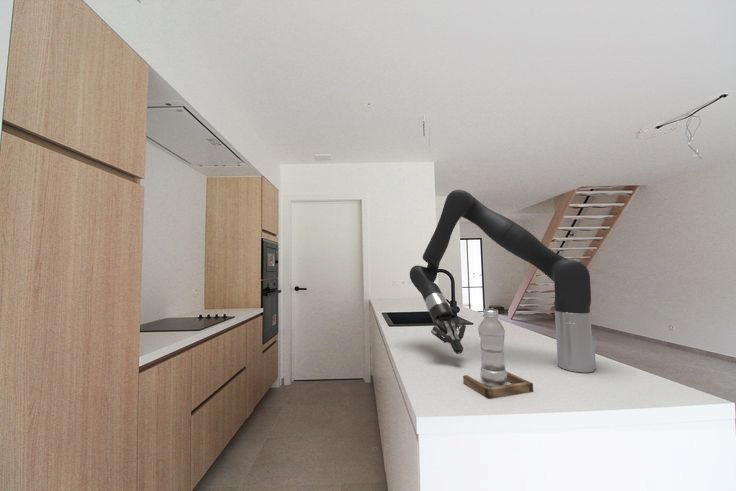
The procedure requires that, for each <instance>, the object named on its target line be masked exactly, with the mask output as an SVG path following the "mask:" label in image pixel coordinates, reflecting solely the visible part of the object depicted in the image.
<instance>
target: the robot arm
mask: <svg viewBox="0 0 736 491" xmlns="http://www.w3.org/2000/svg"><path fill="white" fill-rule="evenodd" d="M461 218H464V220H465V219H466V220H468V221H469V222H470V223H471V224H474V225H476V226H477V227H478V228H479V229H481V231H482V232H483V233H484V234H485V235H487V237H488V238H490V239H491V240H492V241H493V242H494V243H496V245H499V246H500V247H502V248H503V249H505V250H506V251H507V252H509V253H511V254H512V255H514V256H516V257H518V258H519V259H521V260H523V261H525V262H527V263H529V264H531V265H533V266H534V268H535V267H536V268H537V269H538V270H540V272H542V273H543V274H545V275H546V276H547V278H549V279H551V281H552V282H554V319H555V320H554V321H555V323H554V324H555V336H556V354H557V355H556V356H557V357H556V358H557V359H556V360H557V366H558V367H559V368H561V369H563V370H567V371H571V372H577V373H593V372H594V371H595V370H596V369H597V360H596V348H595V337H594V336H592V335H593V330H592V320H591V304H592V291H591V290H592V288H591V275H590V271H589V269H588V267H587V266H586V265H585V264H584V263H582V262H581V261H579V260H573V259H568V258H566V257H564V256H562V255H561V254H559V253H557V252H556V251H553V250H552V249H550V248H549V247H547V245H545V244H544V243H543V242H541V241H540V240H539V238H537V237H536V236H535V235H534V234H533V233H531V232H530V231H529V230H527V229H526V228H525V227H523V226H522V225H520V224H518V223H516V222H515V221H513V220H512V219H509V218H508V217H506V216H504V215H502V214H501V213H498V212H496V211H494V210H491V209H490V208H488V207H487V206H486V205H484V204H483V203H482V202H480V201H479V200H478V199H477V198H476V197H474V196H473V195H472V194H471V193H470V192H468V191H466V190H463V189H454V190H452V191H451V192H449V194H448V195H447V196H446V198H445V202H444V204H443V208H442V211H441V214H440V217H439V220H438V222H437V224H436V228H435V229H434V233H433V234H432V236H431V238H430V240H429V242H428V244H427V245H426V246H427V247H426V248H425V250H424V253H423V254H422V260H423V261H424V262H426V263H427V266H422V265H413V266H412V267H411V268H410V271H409V279H410V281H411V283H412V285H413V286H414V288H416V289H417V291H418V292H419V293H420V294H421V296H422V298H423V301H424V302H425V307H426V309H427V311H428V313H429V316H430V317H431V320H432V322H433V323H434V325H433V327H432V329H431V331H430V333H431V334H432V335H434V336H435V337H436V338H437V339H438V340H440V341H441V342H442V343H444V344H447V343H448V344H450V347H451V348H452V350H453V352H454V353H455V354H456V355H461V354H462V353H463V350H464V347H463V345H462V343H461V341H462V339H463V338H464V337H465V336H464V335H465V331H466V327H467V325H466V324H464V323H463V324H461V323H459V322H458V320H456V318H455V315H454V312H453V310H452V308H451V306H450V305H449V303H448V300H447V299H446V297H445V296H444V295H443V293H442V291H441V289H440V287H439V285H438V284H437V283H435V282H436V280H437V277H438V273H439V272H438V271H439V268H440V264H441V261H442V258H443V257H444V255H445V253H446V251H447V249H448V247H449V244H450V240H451V238H452V234H453V232H454V230H455V227H456V225H458V222H459V221H460V219H461Z"/></svg>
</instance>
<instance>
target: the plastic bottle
mask: <svg viewBox="0 0 736 491" xmlns="http://www.w3.org/2000/svg"><path fill="white" fill-rule="evenodd" d="M482 317H483V319H482V321H481V322H480V324H479V325H478V328H477V330H478V331H477V332H478V337H479V342H480V349H481V364H480V365H481V366H480V371H479V372H480V375H479V376H480V382H481V383H482V384H484V385H485V386H487V387H489V388H490V387H496V386H503V385H508V377H507V372H508V371H507V369H506V364H505V357H504V355H505V354H504V350H505V349H504V348H505V347H504V346H505V335H506V334H505V333H506V330H505V328H504V326H503V324H502V323H501V322H500V320H499V317H500V315H499V310H498V309H497V308H496V309H495V308H484V309H483V312H482ZM506 371H507V372H506Z"/></svg>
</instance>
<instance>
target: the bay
mask: <svg viewBox="0 0 736 491" xmlns="http://www.w3.org/2000/svg"><path fill="white" fill-rule="evenodd" d="M506 372H507V377H508V381H507V383H509V384H507V385H503V386H496V387H487V386H485V385H484V384H483V383H482V382H481V381H478V380H476V379H474V378H473V377H472V376H469V375H465V374H464V375H463V376H462V380H463V382H462V384H464V385H465V386H467V387H469V388H471V389H472V390H474V391H475V392H477V393H478V394H480V395H482V396H484V397H485V398H487V399H495V398H501V397H507V396H514V395H519V394H525V393H531V392H534V383H533V382H531V381H529V380H527V379H524V378H522V377H520V376H517V375H516V374H513V373H511V372H509V371H507V370H506Z"/></svg>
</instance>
